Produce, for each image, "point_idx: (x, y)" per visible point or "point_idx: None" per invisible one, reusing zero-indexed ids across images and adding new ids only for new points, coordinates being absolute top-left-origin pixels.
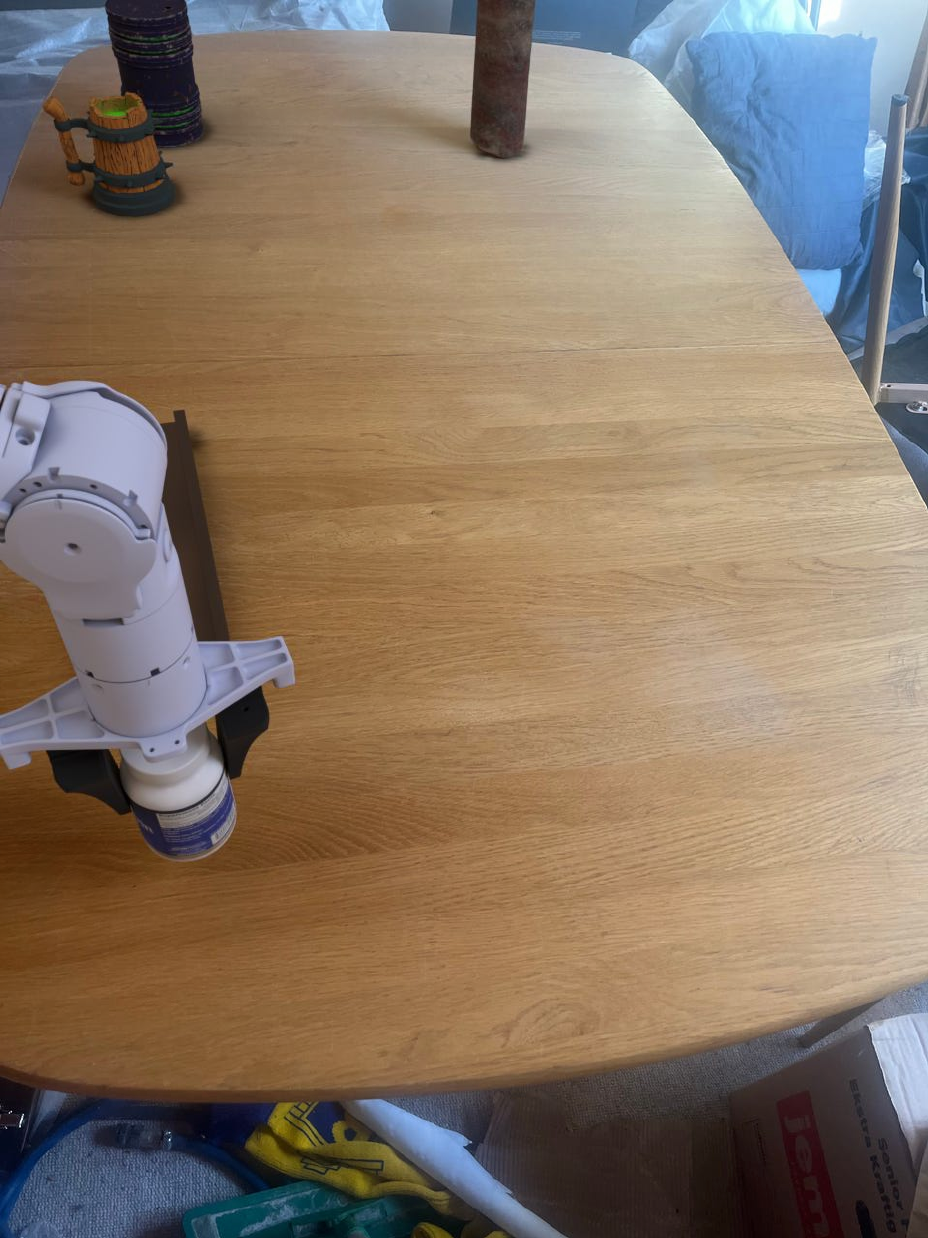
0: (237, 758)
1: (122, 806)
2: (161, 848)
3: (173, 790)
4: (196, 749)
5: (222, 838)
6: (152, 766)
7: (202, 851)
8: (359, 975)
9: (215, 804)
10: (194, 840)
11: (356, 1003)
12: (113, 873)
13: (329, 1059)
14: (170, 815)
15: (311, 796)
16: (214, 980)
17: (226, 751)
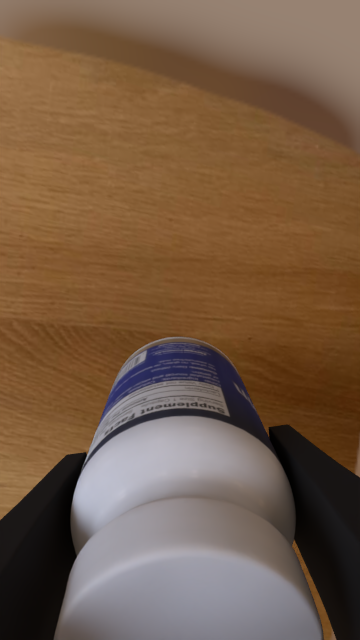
0: (20, 518)
1: (294, 445)
2: (221, 359)
3: (184, 468)
4: (87, 610)
5: (133, 357)
6: (234, 580)
7: (163, 344)
8: (10, 168)
9: (114, 411)
10: (169, 358)
11: (16, 133)
12: (269, 357)
13: (55, 71)
14: (200, 406)
15: (48, 398)
16: (178, 208)
17: (48, 538)
